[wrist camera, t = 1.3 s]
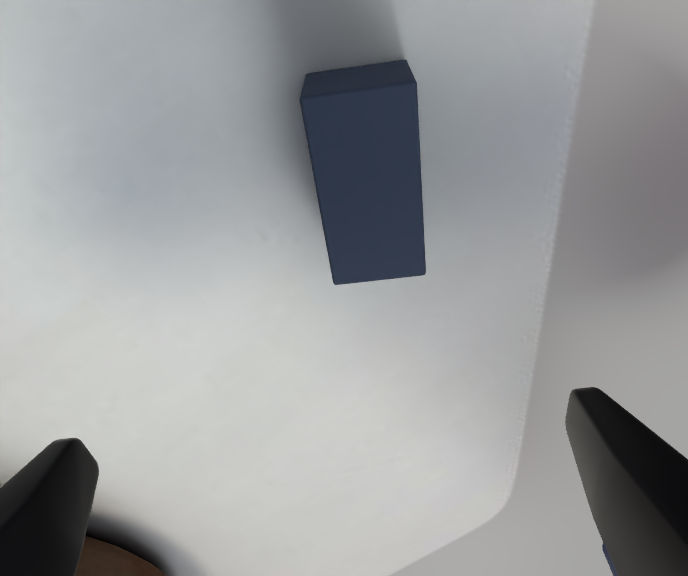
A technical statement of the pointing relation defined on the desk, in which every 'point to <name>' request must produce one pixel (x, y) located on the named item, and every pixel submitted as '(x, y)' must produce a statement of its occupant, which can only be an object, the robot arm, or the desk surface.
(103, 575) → the dish
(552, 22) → the desk surface
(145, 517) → the desk surface
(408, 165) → the eraser
